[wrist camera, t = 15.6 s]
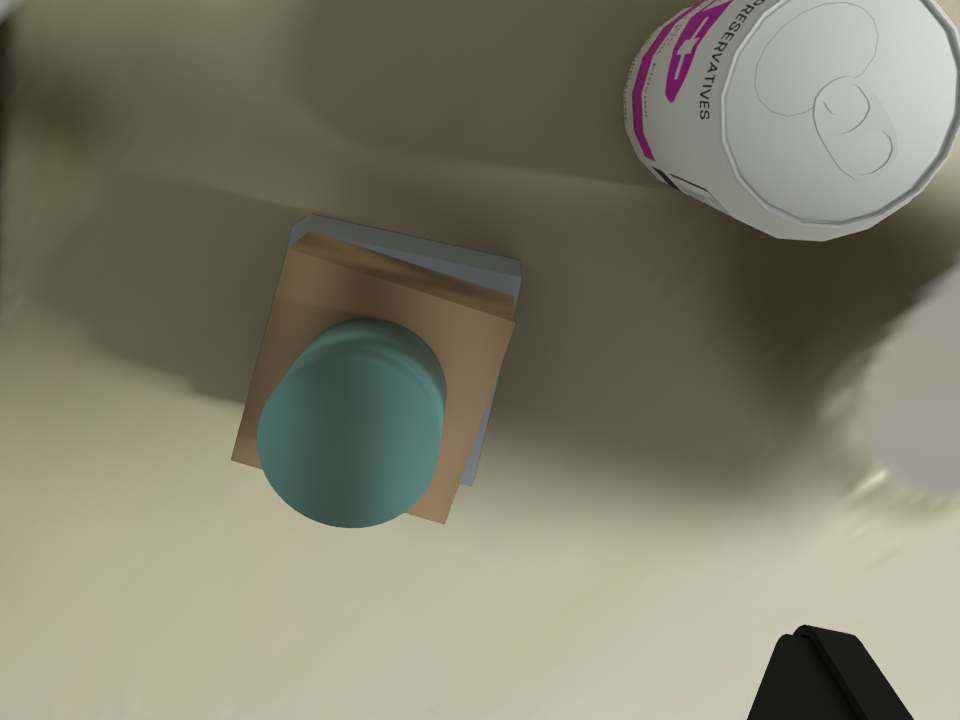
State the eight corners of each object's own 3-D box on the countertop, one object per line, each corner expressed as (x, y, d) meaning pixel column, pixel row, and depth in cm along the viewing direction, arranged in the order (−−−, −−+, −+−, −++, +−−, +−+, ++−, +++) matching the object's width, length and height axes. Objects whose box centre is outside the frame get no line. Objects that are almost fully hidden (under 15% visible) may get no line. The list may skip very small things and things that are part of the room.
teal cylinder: (457, 330, 33) (451, 374, 28) (434, 473, 35) (425, 540, 30) (301, 305, 33) (265, 345, 28) (285, 450, 35) (249, 513, 29)
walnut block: (513, 296, 37) (516, 322, 33) (449, 477, 40) (444, 524, 35) (310, 230, 36) (287, 248, 32) (258, 419, 39) (230, 460, 35)
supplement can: (585, 80, 39) (642, 73, 24) (745, -38, 37) (907, -121, 23) (681, 228, 40) (789, 302, 26) (838, 121, 39) (1042, 137, 25)
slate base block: (518, 258, 41) (522, 277, 37) (473, 448, 44) (472, 486, 40) (311, 213, 41) (290, 227, 36) (279, 407, 44) (257, 442, 39)
